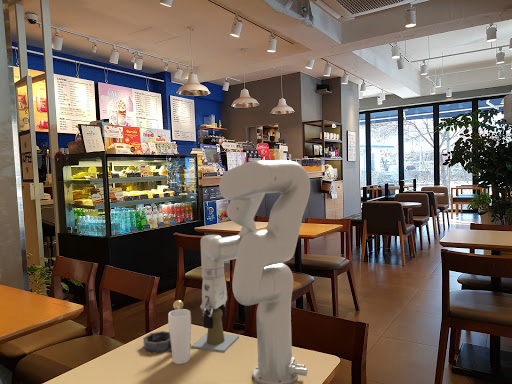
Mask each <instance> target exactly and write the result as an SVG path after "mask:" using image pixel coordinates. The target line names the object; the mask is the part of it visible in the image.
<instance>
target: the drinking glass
mask: <svg viewBox="0 0 512 384" xmlns="http://www.w3.org/2000/svg"><path fill="white" fill-rule="evenodd" d="M167 316H168V322H167V323H168V332H169V334H170V341H171V349H172V352H171V357H172V362H173V363H174V364H177V365H184V364H187V363H188V362H189V361H190V360H191V347H190V344H191V335H192V315H191V310H189V309H185V308H182V309H178V310H175V309H174V310H171V311H169V312H168V315H167Z"/></svg>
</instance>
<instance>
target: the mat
mask: <svg viewBox="0 0 512 384" xmlns="http://www.w3.org/2000/svg"><path fill="white" fill-rule="evenodd" d="M207 334H208V331H207V332H206V333H205V334H204V335H202V337H200V338H199V339H197V341H195V342H194V343H193V344H191V347H190V349H192V348H193V349H199V350H204V351H205V350H206V351H211V352H220V353H226V351H228V349H230V347H231V346H232V345H233V344H234V343H235V342H237V340H238V339H239V338H240V335H237V334H229V333H224V339H225V341H224V342H223V343H221V344H217V345H211V344H208V343H207Z"/></svg>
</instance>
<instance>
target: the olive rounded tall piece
mask: <svg viewBox="0 0 512 384" xmlns="http://www.w3.org/2000/svg"><path fill="white" fill-rule="evenodd" d="M207 310H208V312H209V311H210V309H207ZM212 316H213V328H212V329H210V328H207V332H208V334H207V343H208V344H211V345H217V344H221V343H223V342H224V341H225V339H224V334H225V333H224V329H223V321H222V318H221V317H222V310H221V309H220V308H217V309H214V308H213V312H212Z"/></svg>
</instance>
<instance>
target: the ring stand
mask: <svg viewBox="0 0 512 384" xmlns="http://www.w3.org/2000/svg"><path fill="white" fill-rule="evenodd" d="M172 306H173V309H174V310H178V309H184V308H183V307H184V302H183V301H182V300H180V299H177V300H175V301H174V302H173V305H172ZM191 346H192V344H191V343H190V348H191ZM143 348H144V350H145V352H147V353H153V354H158V353H162V352H163V353H164V352H169V353H170V352H171V353H172V349H171V341H170V334H169V331H164V330H163V331H162V330H161V331H156V332H151V333H149V334H148V335H145V336H144V337H143Z"/></svg>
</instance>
